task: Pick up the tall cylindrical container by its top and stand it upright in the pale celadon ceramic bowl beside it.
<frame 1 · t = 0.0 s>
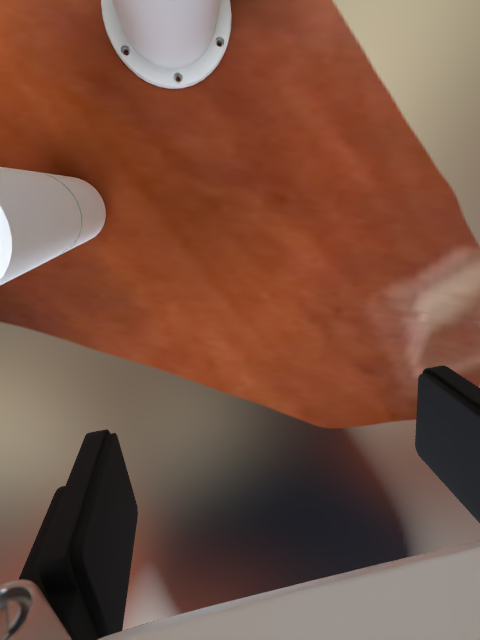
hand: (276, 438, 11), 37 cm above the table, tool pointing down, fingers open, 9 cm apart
cylindrical container: (73, 210, 42), on the table
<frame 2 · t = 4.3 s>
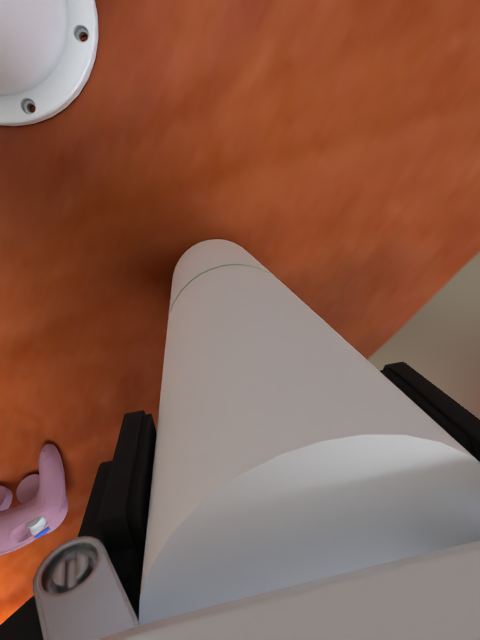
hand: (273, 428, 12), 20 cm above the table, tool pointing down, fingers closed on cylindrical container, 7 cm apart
cylindrical container: (216, 283, 30), on the table, touching gripper
video game controller: (18, 477, 33), on the table
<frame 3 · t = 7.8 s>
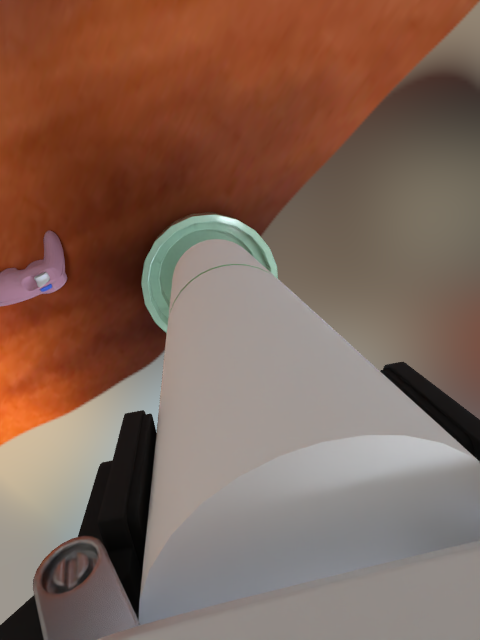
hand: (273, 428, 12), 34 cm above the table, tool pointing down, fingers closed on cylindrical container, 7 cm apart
cylindrical container: (216, 282, 30), point 14 cm above the table, touching gripper
video game controller: (26, 265, 41), on the table
bowl: (208, 274, 44), on the table
when the fingers open (20 cm above the table, at t = 11.5 s): cylindrical container stays where it is, resting on bowl.
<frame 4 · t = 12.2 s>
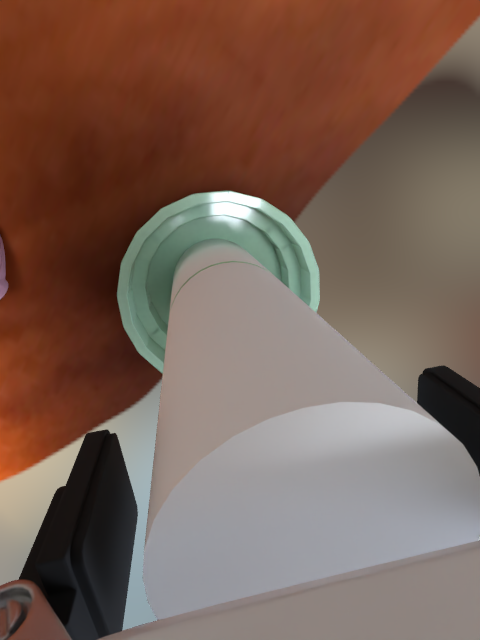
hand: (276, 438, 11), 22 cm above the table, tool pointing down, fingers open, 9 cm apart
cylindrical container: (216, 281, 31), resting on bowl
bowl: (216, 281, 32), on the table
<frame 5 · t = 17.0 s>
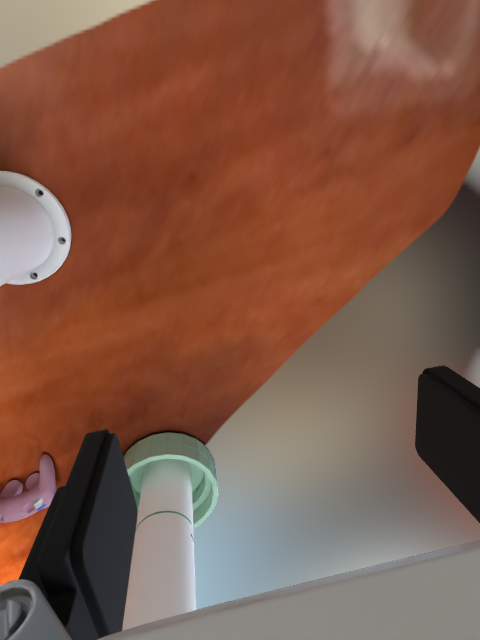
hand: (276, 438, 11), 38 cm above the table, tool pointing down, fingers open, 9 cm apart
cylindrical container: (167, 471, 56), resting on bowl
video game controller: (26, 474, 54), on the table
bowl: (167, 470, 57), on the table
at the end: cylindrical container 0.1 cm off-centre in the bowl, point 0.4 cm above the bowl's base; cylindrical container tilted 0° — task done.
